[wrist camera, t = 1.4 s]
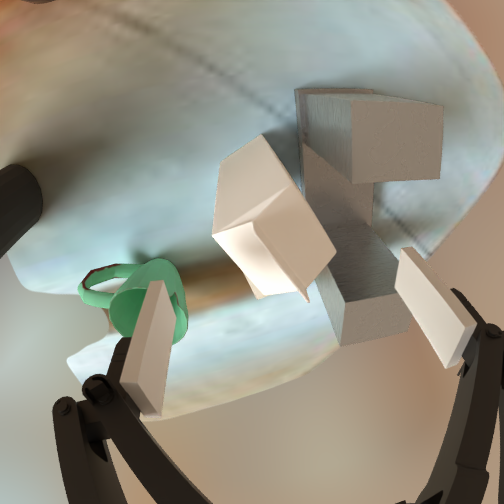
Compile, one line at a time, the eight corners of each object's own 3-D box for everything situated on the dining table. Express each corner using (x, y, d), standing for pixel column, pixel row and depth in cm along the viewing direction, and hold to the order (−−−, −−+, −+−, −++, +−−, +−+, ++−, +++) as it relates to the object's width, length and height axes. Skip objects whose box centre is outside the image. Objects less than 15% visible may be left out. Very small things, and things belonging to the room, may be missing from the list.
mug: (202, 252, 41) (196, 299, 32) (187, 305, 46) (180, 355, 37) (100, 226, 38) (70, 266, 29) (97, 281, 42) (74, 326, 34)
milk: (261, 133, 33) (306, 197, 14) (289, 173, 36) (355, 278, 17) (218, 162, 35) (207, 262, 16) (248, 200, 38) (269, 328, 19)
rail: (294, 89, 31) (342, 93, 17) (366, 88, 31) (448, 100, 17) (304, 265, 43) (334, 350, 29) (362, 257, 43) (410, 333, 29)
